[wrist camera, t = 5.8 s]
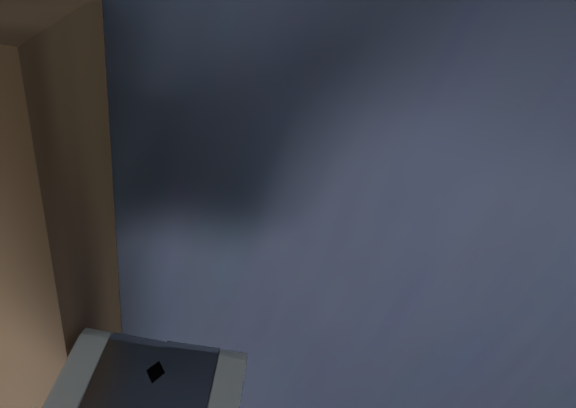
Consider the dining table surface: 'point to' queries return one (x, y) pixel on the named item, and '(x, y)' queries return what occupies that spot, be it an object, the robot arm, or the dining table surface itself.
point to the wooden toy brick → (53, 192)
